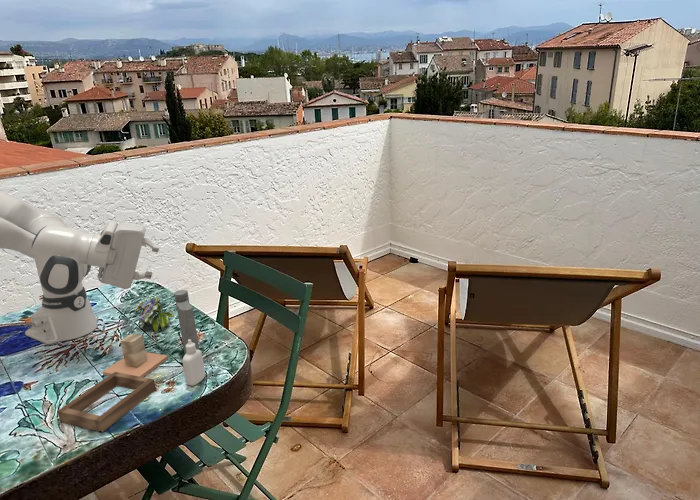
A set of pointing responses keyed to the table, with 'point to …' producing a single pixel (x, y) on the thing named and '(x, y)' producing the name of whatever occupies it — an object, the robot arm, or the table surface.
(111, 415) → the walnut stand
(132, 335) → the ash post
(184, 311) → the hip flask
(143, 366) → the terracotta tile
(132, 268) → the robot arm
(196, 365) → the eye dropper bottle
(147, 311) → the passion flower
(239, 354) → the table surface
